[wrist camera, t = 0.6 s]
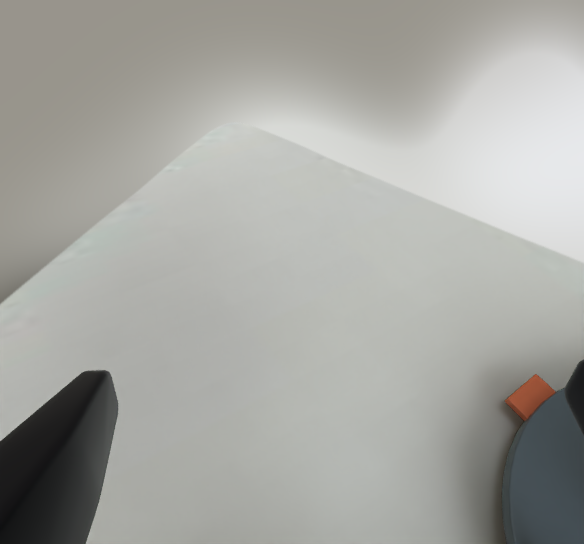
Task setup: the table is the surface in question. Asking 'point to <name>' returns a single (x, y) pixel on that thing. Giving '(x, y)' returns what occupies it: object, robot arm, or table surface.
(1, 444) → the robot arm
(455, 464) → the table surface
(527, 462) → the drying rack
